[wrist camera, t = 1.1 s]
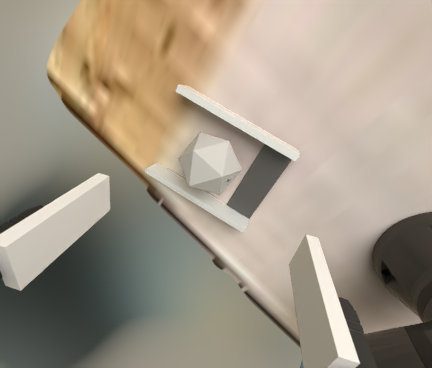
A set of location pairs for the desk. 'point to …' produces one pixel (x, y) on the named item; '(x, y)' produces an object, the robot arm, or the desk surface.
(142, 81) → the desk surface
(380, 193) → the desk surface
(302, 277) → the robot arm
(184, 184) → the grey u-shaped frame
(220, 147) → the die
